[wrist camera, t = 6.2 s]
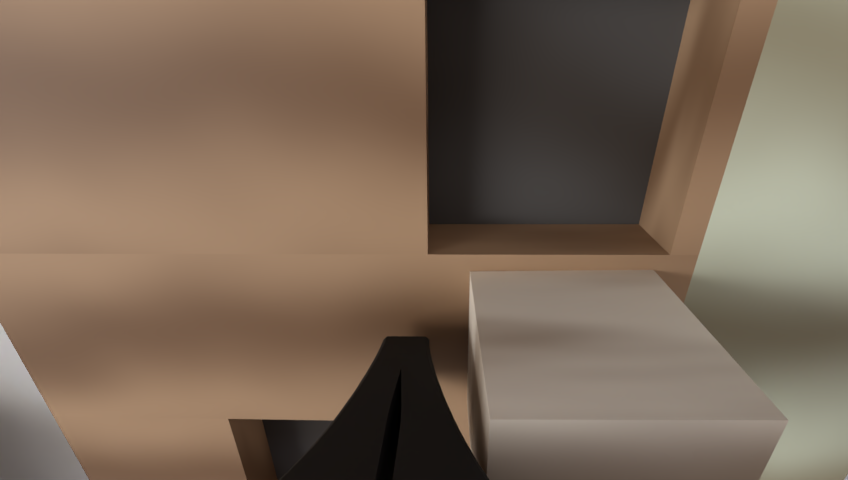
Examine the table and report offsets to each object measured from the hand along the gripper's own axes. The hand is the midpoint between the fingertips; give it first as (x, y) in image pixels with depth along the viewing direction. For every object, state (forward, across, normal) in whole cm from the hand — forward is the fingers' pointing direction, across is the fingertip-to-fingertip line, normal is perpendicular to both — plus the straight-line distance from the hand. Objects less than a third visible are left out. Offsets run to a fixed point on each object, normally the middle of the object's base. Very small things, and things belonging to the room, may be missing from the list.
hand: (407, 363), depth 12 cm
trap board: (+3, -1, 0) cm, 3 cm away
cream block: (+1, -4, 0) cm, 4 cm away
